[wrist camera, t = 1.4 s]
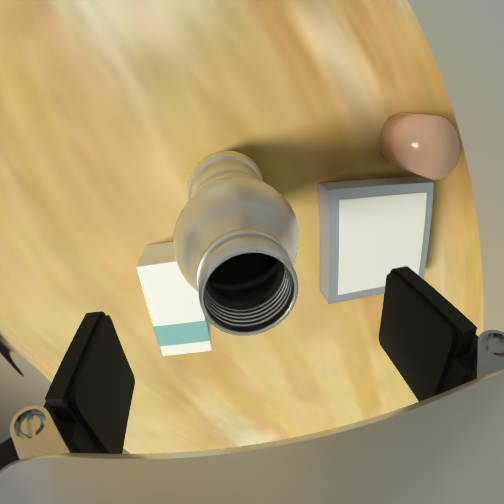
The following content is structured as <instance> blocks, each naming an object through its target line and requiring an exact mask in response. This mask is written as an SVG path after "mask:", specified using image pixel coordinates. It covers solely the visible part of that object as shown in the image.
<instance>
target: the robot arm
mask: <svg viewBox="0 0 504 504" xmlns="http://www.w3.org/2000/svg"><path fill="white" fill-rule="evenodd" d="M476 330H477V327H476V326H475V325H474V324H473V323H472V322H471V321H470V320H469V319H467V318H466V317H465V316H464V315H463V314H462V313H461V312H460V311H459V310H458V309H457V308H455V307H454V306H453V305H452V304H451V303H450V302H449V301H448V300H446V299H445V298H444V297H443V296H442V295H441V294H440V293H439V292H437V291H436V290H435V289H434V288H433V287H432V286H430V285H429V284H428V283H427V282H426V281H425V280H423V279H422V278H421V277H420V276H419V275H418V274H416V273H415V272H414V271H413V270H412V269H410V268H409V267H407V266H404V267H399V268H394V269H392V270H391V271H390V274H387V276H386V284H385V293H384V302H383V310H382V317H381V325H380V332H379V342H380V345H381V346H382V348H383V349H384V351H385V352H386V354H387V355H388V356H389V358H390V359H391V361H392V362H393V364H394V365H395V367H396V368H397V369H398V371H399V372H400V374H401V375H402V377H403V378H404V380H405V381H406V383H407V384H408V386H409V387H410V389H411V390H412V392H413V393H414V395H415V396H416V398H417V399H418V401H419V402H417V403H415V404H412V405H409V406H407V407H404V408H401V409H398V410H395V411H392V412H389V413H386V414H383V415H380V416H377V417H374V418H370V419H367V420H364V421H360V422H357V423H353V424H349V425H346V426H342V427H338V428H334V429H330V430H326V431H322V432H318V433H314V434H309V435H305V436H300V437H295V438H290V439H285V440H280V441H274V442H268V443H262V444H256V445H249V446H242V447H234V448H226V449H217V450H207V451H195V452H181V453H157V454H122V451H123V445H124V439H125V433H126V427H127V422H128V416H129V411H130V405H131V400H132V395H133V390H134V385H135V380H134V375H133V373H132V370H131V368H130V366H129V363H128V361H127V358H126V356H125V354H124V351H123V349H122V346H121V344H120V341H119V338H118V336H117V333H116V331H115V328H114V325H113V322H112V320H111V318H110V316H109V315H105V313H104V312H93V313H87V314H86V315H85V317H84V319H83V321H82V322H81V324H80V326H79V328H78V330H77V332H76V334H75V336H74V338H73V340H72V342H71V344H70V346H69V348H68V350H67V352H66V354H65V356H64V358H63V360H62V362H61V364H60V366H59V369H58V371H57V373H56V375H55V377H54V379H53V382H52V384H51V386H50V388H49V391H48V393H47V395H46V397H45V400H46V403H45V405H44V407H42V406H37V405H34V406H28V407H26V408H23V409H22V410H21V411H19V412H18V413H17V414H16V415H15V416H14V418H13V420H12V421H11V425H10V433H11V436H12V437H11V438H9V439H8V440H6V441H5V442H3V443H1V444H0V504H504V332H501V331H498V330H488V331H485V332H483V333H481V335H480V336H479V337H478V336H477V335H476V334H475V333H476Z"/></svg>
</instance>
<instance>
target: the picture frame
mask: <svg viewBox="0 0 504 504" xmlns="http://www.w3.org/2000/svg"><path fill="white" fill-rule="evenodd" d="M433 187H434V182H432V181H429V180H426V179H424V178H421V177H419V176H414V177H395V178H379V179H364V180H351V181H339V182H327V183H318V193H319V225H320V291H321V292H322V294H323V296H324V297H325V299H326V301H327V302H328V304H332V303H337V302H342V301H348V300H353V299H358V298H363V297H368V296H372V295H377V294H382V293H385V284H386V276H387V274H390V271H391V270H392V269H394V268H399V267H404V266H407V267H409V268H410V269H412V270H413V271H414V272H415V273H416V274H418V275H419V276H420V277H421V278H422V279H423V280H424V273H425V267H426V260H427V252H428V245H429V236H430V227H431V216H432V203H433Z"/></svg>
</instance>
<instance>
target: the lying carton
mask: <svg viewBox="0 0 504 504" xmlns="http://www.w3.org/2000/svg"><path fill="white" fill-rule="evenodd" d="M137 271H138V275H139V278H140V282H141V286H142V289H143V293H144V296H145V300H146V303H147V307H148V310H149V313H150V317H151V320H152V323H153V328H154V332H155V335H156V338H157V341H158V344H159V346H160V348H161V351H162V354H163V356H167V355H177V354H186V353H195V352H204V351H212V341H211V323H210V322H209V321H208V319H207V318H206V316H205V315H204V313H203V311H202V308H201V305H200V301H199V292H197V291H196V290H195V289H194V288H193V287H192V286H191V285H190V284H189V283H188V282H187V281H186V279H185V278H184V276H183V275H182V273H181V271H180V269H179V267H178V264H177V262H176V259H175V256H174V249H173V242H166V243H159V244H152V245H146V247H145V249H144V251H143V254H142V256H141V258H140V260H139V263H138V265H137Z"/></svg>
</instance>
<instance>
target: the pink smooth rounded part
mask: <svg viewBox="0 0 504 504" xmlns="http://www.w3.org/2000/svg"><path fill="white" fill-rule="evenodd" d="M380 146H381V150H382V153H383V155H384V157H385V158H386V159H387V161H388V162H389V163H391V164H392V165H394V166H396V167H399V168H402V169H404V170H407V171H410V172H413V173H416V174H418V175H421V176H424V177H427V178H429V179H433V180H439V179H442V178H445V177H446V176H448V175H449V174H450V173H451V172H452V171H453V169H454V168H455V166H456V164H457V161H458V158H459V153H460V143H459V138H458V134H457V132H456V130H455V128H454V126H453V125H452V124H451V122H450V121H448V120H447V119H446V118H444V117H442V116H437V115H426V114H413V113H397V114H394V115H392V116H391V117H389V118H388V119H387V120H386V121H385V123H384V125H383V126H382V129H381V133H380Z"/></svg>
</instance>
